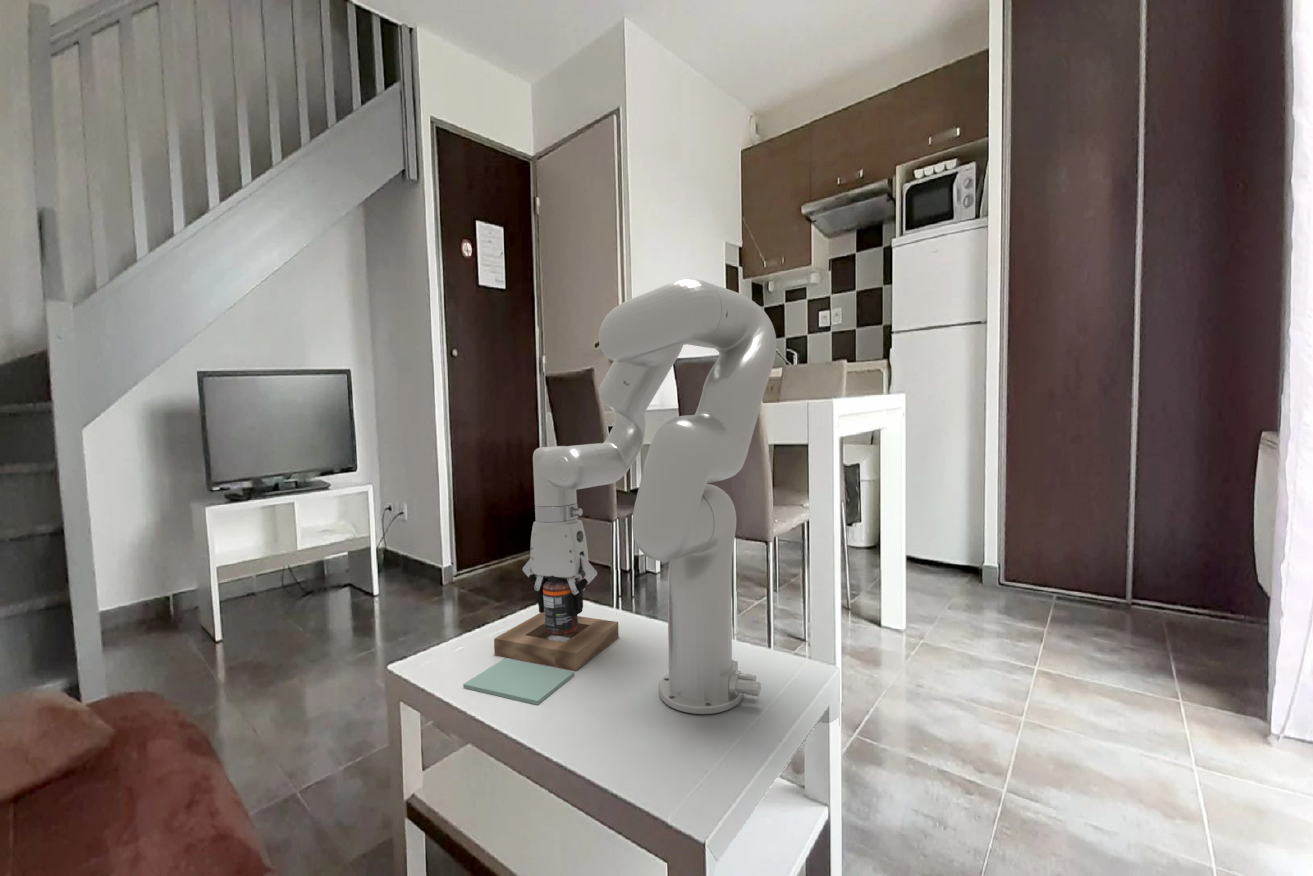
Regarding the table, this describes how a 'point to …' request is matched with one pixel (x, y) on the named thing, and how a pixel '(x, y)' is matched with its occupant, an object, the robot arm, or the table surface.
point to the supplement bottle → (558, 607)
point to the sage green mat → (519, 681)
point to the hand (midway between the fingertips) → (560, 611)
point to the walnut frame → (556, 642)
